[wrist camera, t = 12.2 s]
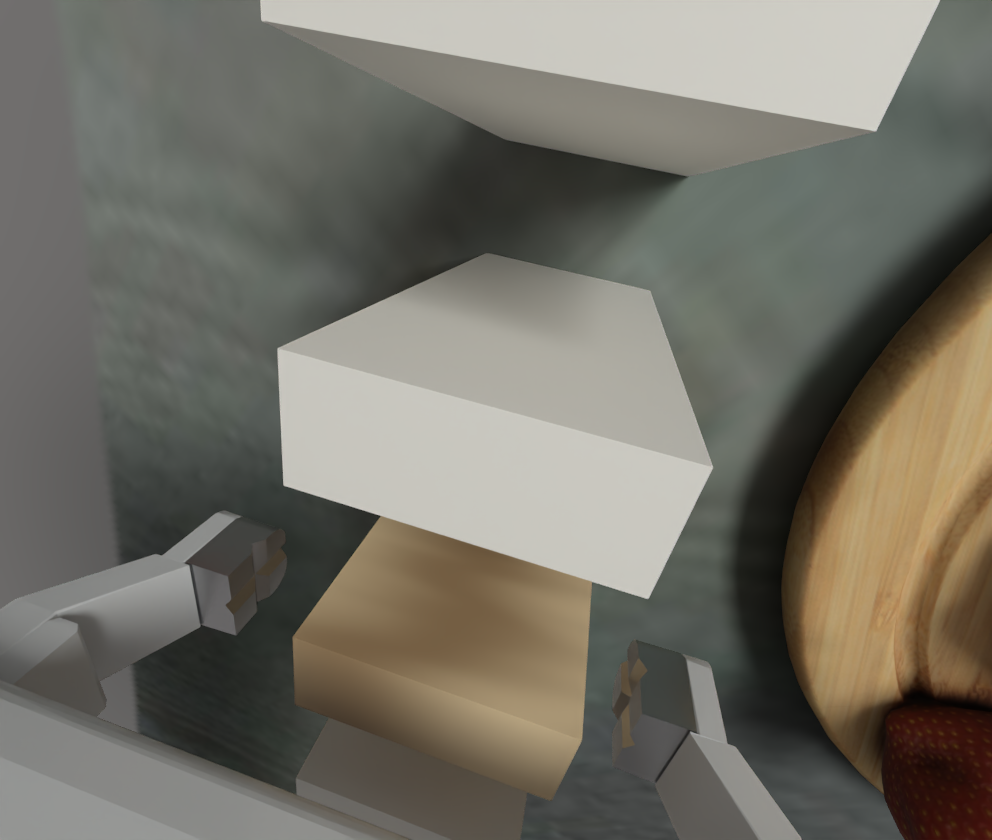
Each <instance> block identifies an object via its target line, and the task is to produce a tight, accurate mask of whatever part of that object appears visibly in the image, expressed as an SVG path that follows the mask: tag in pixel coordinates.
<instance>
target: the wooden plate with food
mask: <svg viewBox="0 0 992 840" xmlns="http://www.w3.org/2000/svg"><path fill="white" fill-rule="evenodd" d="M782 616H783V624H784V630H785V636H786V642H787V648H788V653H789V656H790V659H791V662H792V665H793V668H794V671H795V674H796V678H797V681H798V683H799V685H800V687H801V689H802V691H803V693H804V695H805V697H806V699H807V701H808V703H809V705H810V706H811V708H812V710H813V712H814V713H815V715H816V717H817V718H818V720H819V722H820V723H821V725H822V727H823V729H824V730H825V732H826V734H827V735H828V737H829V738H830V740H831V741H832V742H833V743H834V744H835V745H836V746H837V748H838V749H839V750H840V751H841V752H842V753H843V754H844V756H845V757H846V758H847V759H848V760H849V761H850V762H851V764H852V765H853V766H854V767H855V768H856V769H857V770H858V772H859V773H860V774H861V775H862V776H863V777H865V778H866V779H867V780H868V781H869V782H870V783H871V784H872V785H874V786H875V787H876V788H877V789H878V790H879V791H880V792H881V793H882V794H884V797H885V801H886V803H887V805H888V808H889V810H890V812H891V814H892V816H893V818H894V821H895V823H896V825H897V827H898V829H899V831H900V833H901V834H902V836H903V837H904V839H905V840H992V233H991V234H990V235H989V236H988V237H987V238H986V239H985V240H984V241H983V242H982V243H981V244H980V245H979V246H977V247H976V248H975V249H974V250H973V251H972V252H971V253H970V254H969V255H968V256H967V257H966V258H965V259H964V260H963V261H962V262H961V263H960V264H959V265H958V266H957V267H956V268H955V269H954V270H953V271H952V272H951V273H950V274H949V275H948V277H947V278H946V279H945V280H944V281H943V282H942V283H941V284H940V285H939V287H938V288H937V289H936V290H935V291H934V292H933V293H932V294H931V295H930V296H929V298H928V299H927V300H926V301H925V302H924V303H923V304H922V305H921V306H920V307H919V309H918V310H917V311H916V312H915V313H914V314H913V315H912V316H911V317H910V318H909V320H908V321H907V322H906V323H905V324H904V325H903V326H902V327H901V328H900V329H899V331H898V332H897V333H896V334H895V335H894V337H893V338H892V339H891V341H890V342H889V343H888V345H887V346H886V347H885V349H884V350H883V351H882V353H881V354H880V355H879V357H878V358H877V359H876V361H875V362H874V363H873V365H872V366H871V367H870V369H869V370H868V371H867V373H866V374H865V375H864V377H863V378H862V380H861V381H860V383H859V384H858V385H857V387H856V388H855V390H854V392H853V393H852V395H851V397H850V398H849V400H848V401H847V403H846V405H845V406H844V408H843V410H842V411H841V413H840V414H839V416H838V418H837V419H836V421H835V423H834V424H833V426H832V428H831V429H830V431H829V432H828V434H827V436H826V438H825V440H824V442H823V444H822V446H821V448H820V450H819V452H818V454H817V456H816V458H815V460H814V462H813V464H812V466H811V469H810V471H809V474H808V476H807V479H806V481H805V484H804V486H803V489H802V491H801V494H800V496H799V499H798V501H797V504H796V507H795V511H794V515H793V520H792V524H791V529H790V533H789V537H788V542H787V546H786V552H785V558H784V565H783V572H782Z"/></svg>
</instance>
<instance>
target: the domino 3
mask: <svg viewBox="0 0 992 840" xmlns="http://www.w3.org/2000/svg"><path fill="white" fill-rule="evenodd" d="M591 587H592V582H591V581H588V580H585V579H582V578H579V577H575V576H572V575H569V574H566V573H563V572H559V571H556V570H553V569H550V568H547V567H543V566H540V565H537V564H534V563H530V562H527V561H524V560H521V559H518V558H514V557H511V556H508V555H505V554H502V553H498V552H495V551H492V550H489V549H486V548H482V547H479V546H476V545H473V544H470V543H466V542H463V541H460V540H457V539H453V538H450V537H447V536H444V535H441V534H437V533H434V532H431V531H428V530H425V529H421V528H418V527H415V526H412V525H409V524H405V523H402V522H399V521H396V520H393V519H389V518H386V517H383V516H381V517H380V518H379V519H378V521H377V522H376V523H375V525H374V526H373V528H372V529H371V530H370V532H369V533H368V534H367V536H366V537H365V539H364V540H363V541H362V543H361V544H360V545H359V547H358V548H357V550H356V551H355V552H354V554H353V555H352V556H351V558H350V559H349V560H348V562H347V563H346V565H345V566H344V567H343V569H342V570H341V571H340V573H339V574H338V576H337V577H336V578H335V580H334V581H333V582H332V584H331V585H330V586H329V588H328V589H327V591H326V592H325V593H324V595H323V596H322V597H321V599H320V600H319V602H318V603H317V604H316V606H315V607H314V608H313V610H312V611H311V613H310V614H309V615H308V617H307V618H306V619H305V621H304V622H303V623H302V625H301V626H300V628H299V629H298V630H297V632H296V633H295V634H294V636H293V661H294V689H295V705H297V706H300V707H302V708H305V709H308V710H310V711H313V712H316V713H318V714H321V715H323V716H326V717H329V718H331V719H334V720H337V721H339V722H342V723H345V724H347V725H350V726H353V727H355V728H358V729H361V730H363V731H366V732H369V733H371V734H374V735H377V736H379V737H382V738H385V739H387V740H390V741H393V742H395V743H398V744H401V745H403V746H406V747H409V748H411V749H414V750H417V751H419V752H422V753H425V754H427V755H430V756H433V757H435V758H438V759H440V760H443V761H446V762H448V763H451V764H454V765H456V766H459V767H462V768H464V769H467V770H470V771H472V772H475V773H478V774H480V775H483V776H486V777H488V778H491V779H494V780H496V781H499V782H502V783H504V784H507V785H510V786H512V787H515V788H518V789H520V790H523V791H526V792H528V793H531V794H534V795H536V796H539V797H542V798H544V799H547V800H550V801H552V799H553V797H554V795H555V793H556V791H557V789H558V787H559V785H560V783H561V781H562V779H563V777H564V775H565V773H566V771H567V769H568V767H569V765H570V763H571V761H572V759H573V757H574V755H575V753H576V751H577V749H578V747H579V745H580V743H581V741H582V731H583V715H584V699H585V683H586V667H587V651H588V635H589V619H590V603H591Z"/></svg>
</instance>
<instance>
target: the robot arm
mask: <svg viewBox="0 0 992 840" xmlns="http://www.w3.org/2000/svg"><path fill="white" fill-rule="evenodd" d="M285 543H286V538H285V531H283V530H281V529H279V528H276V527H273V526H270V525H267V524H264V523H261V522H258V521H255V520H253V519H250V518H247V517H244V516H240V515H237V514H234V513H231V512H228V511H225V510H224V511H220V512H217V513H215V514H214V515H213V516H211V517H210V518H209V519H208V520H206V521H205V522H204V523H203V524H201V525H200V526H199V527H198V528H196V529H195V530H194V531H192V532H191V533H190V534H189V535H187V536H186V537H185V538H184V539H182V540H181V541H180V542H179V543H177V544H176V545H175V546H173V547H172V548H171V549H170V550H168V551H167V552H166V553H165V554H163V555H162V556H161V555H158V554H154V555H151V556H148V557H145V558H142V559H138V560H135V561H132V562H129V563H126V564H123V565H120V566H117V567H114V568H110V569H108V570H104V571H101V572H98V573H95V574H92V575H89V576H86V577H82V578H80V579H76V580H74V581H70V582H67V583H64V584H61V585H58V586H54V587H52V588H49V589H45V590H42V591H39V592H36V593H33V594H29V595H26V596H23V597H20V598H17V599H15V600H14V601H12V602H10V603H9V604H7V605H6V606H4V607H3V608H1V609H0V840H412V839H409V838H407V837H404V836H401V835H399V834H396V833H394V832H391V831H389V830H386V829H383V828H381V827H378V826H376V825H373V824H371V823H368V822H365V821H363V820H360V819H358V818H355V817H353V816H350V815H347V814H345V813H342V812H340V811H337V810H335V809H332V808H329V807H327V806H324V805H322V804H319V803H317V802H314V801H311V800H309V799H306V798H304V797H301V796H299V795H296V794H293V793H291V792H288V791H286V790H283V789H281V788H278V787H275V786H273V785H270V784H268V783H265V782H263V781H260V780H257V779H255V778H252V777H250V776H247V775H245V774H242V773H239V772H237V771H234V770H232V769H229V768H227V767H224V766H221V765H219V764H216V763H214V762H211V761H209V760H206V759H203V758H201V757H198V756H196V755H193V754H190V753H188V752H185V751H183V750H180V749H178V748H175V747H172V746H170V745H167V744H165V743H162V742H160V741H157V740H154V739H152V738H149V737H147V736H144V735H142V734H139V733H136V732H134V731H131V730H129V729H126V728H123V727H121V726H118V725H116V724H113V723H111V722H108V721H105V720H103V719H100V718H98V717H97V716H98V715H99V714H100V713H101V711H102V710H104V709H105V707H106V697H105V695H104V692H103V689H102V687H101V684H100V681H101V680H103V679H105V678H107V677H109V676H110V675H112V674H114V673H116V672H118V671H120V670H122V669H123V668H125V667H127V666H129V665H131V664H133V663H135V662H136V661H138V660H140V659H142V658H144V657H146V656H148V655H149V654H151V653H153V652H155V651H157V650H159V649H161V648H162V647H164V646H166V645H168V644H170V643H172V642H174V641H175V640H177V639H179V638H181V637H183V636H185V635H187V634H188V633H190V632H192V631H194V630H196V629H198V628H200V627H201V625H204V626H207V627H210V628H213V629H217V630H220V631H223V632H226V633H229V634H232V635H237V634H238V633H239V632H240V631H241V629H242V628H243V627H244V626H245V625H246V624H247V623H248V621H249V620H250V619H251V618H252V617H253V616H254V614H255V613H256V612H257V603H258V601H260V600H262V599H265V598H267V597H269V596H271V595H272V593H273V592H274V591H275V590H276V589H277V587H278V586H279V584H280V582H281V580H282V578H283V576H284V575H285V571H286V566H287V556H286V555H285V553H284V552H283V550H282V549H281V547H282V546H283V545H284V544H285ZM200 624H201V625H200ZM627 652H628V661H626V662H624V663H621V665H620V667H619V670H618V672H617V675H616V679H615V683H614V688H613V701H612V710H613V712H614V714H615V716H616V717H617V719H618V722H617V724H616V726H615V728H614V730H613V732H612V759H613V767H614V768H617V769H619V770H622V771H625V772H627V773H630V774H632V775H635V776H638V777H640V778H643V779H646V780H648V781H651V782H654V783H656V784H655V787H656V789H657V792H658V794H659V796H660V798H661V800H662V802H663V805H664V807H665V809H666V811H667V813H668V816H669V818H670V820H671V822H672V824H673V826H674V829H675V831H676V833H677V835H678V837H679V839H680V840H802V839H801V837H800V836H799V834H798V833H797V832H796V830H795V829H794V828H793V826H792V825H791V823H790V822H789V821H788V819H787V818H786V816H785V815H784V814H783V812H782V811H781V809H780V808H779V807H778V805H777V804H776V802H775V801H774V800H773V798H772V797H771V795H770V794H769V793H768V791H767V790H766V789H765V787H764V786H763V784H762V783H761V782H760V780H759V779H758V777H757V776H756V775H755V773H754V772H753V770H752V769H751V768H750V766H749V765H748V763H747V762H746V761H745V759H744V758H743V756H742V755H741V754H740V752H739V751H738V749H737V748H736V747H735V746H732V745H729V744H728V743H727V739H726V734H725V729H724V725H723V720H722V715H721V711H720V706H719V702H718V697H717V692H716V688H715V683H714V678H713V674H712V669H711V666H710V665H709V663H708V662H707V661H703V660H700V659H697V658H694V657H690V656H687V655H684V654H681V653H678V652H675V651H672V650H668V649H665V648H662V647H658V646H655V645H652V644H648V643H645V642H642V641H638V640H634V641H632V642H631V644H630V646H629V648H628V650H627Z"/></svg>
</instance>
